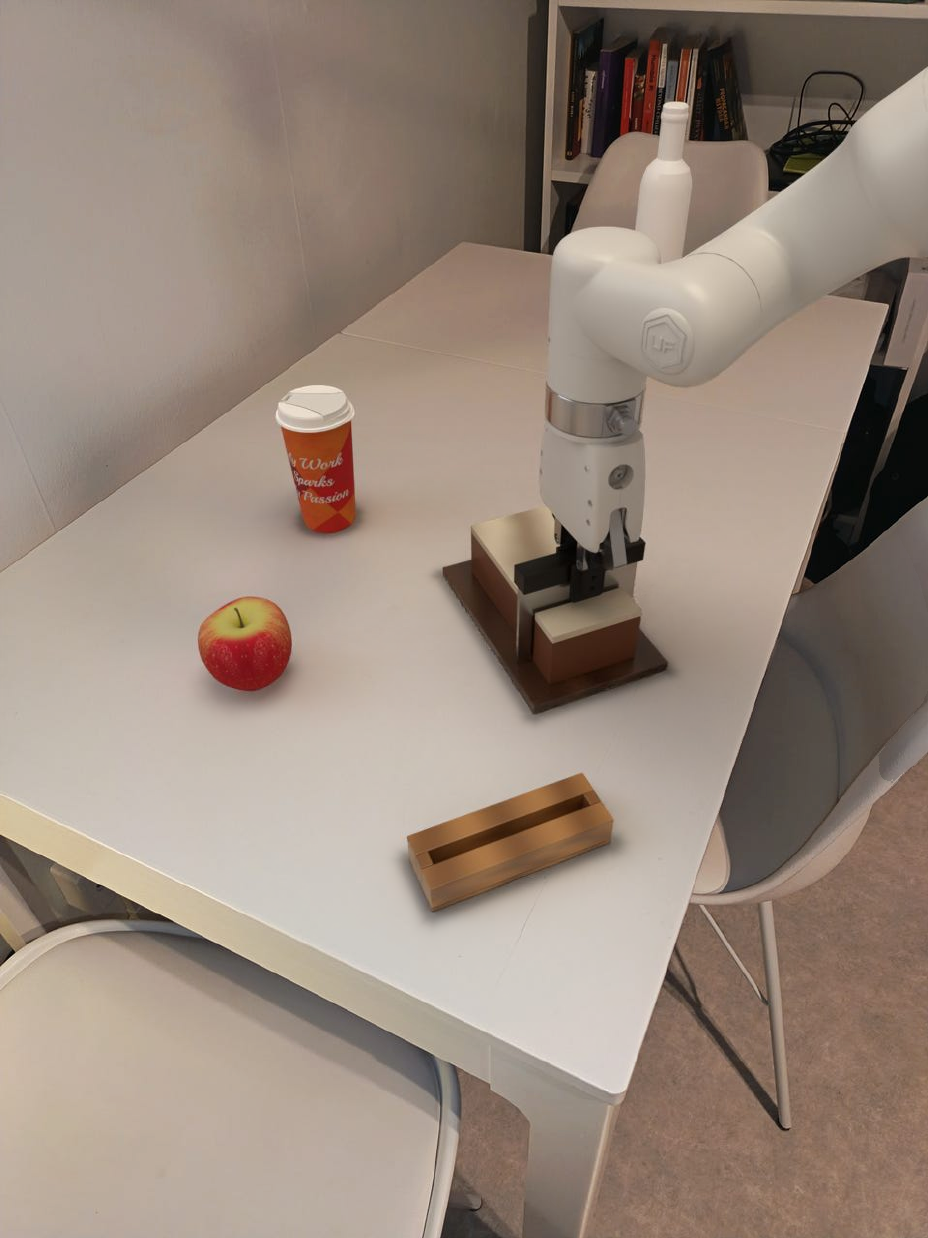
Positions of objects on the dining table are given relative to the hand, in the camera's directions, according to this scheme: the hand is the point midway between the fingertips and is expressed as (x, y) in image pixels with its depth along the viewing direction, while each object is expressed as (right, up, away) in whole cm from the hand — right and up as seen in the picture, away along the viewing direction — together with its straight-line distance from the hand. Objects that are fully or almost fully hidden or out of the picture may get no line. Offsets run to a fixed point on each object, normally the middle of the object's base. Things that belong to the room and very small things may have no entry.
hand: (578, 586), depth 80 cm
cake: (-2, -2, +10) cm, 10 cm away
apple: (-30, -8, +4) cm, 32 cm away
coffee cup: (-26, +9, +23) cm, 36 cm away
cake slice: (+1, -7, +3) cm, 7 cm away
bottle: (+20, +48, +65) cm, 83 cm away
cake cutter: (0, -5, +4) cm, 7 cm away
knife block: (-7, -21, -11) cm, 25 cm away
